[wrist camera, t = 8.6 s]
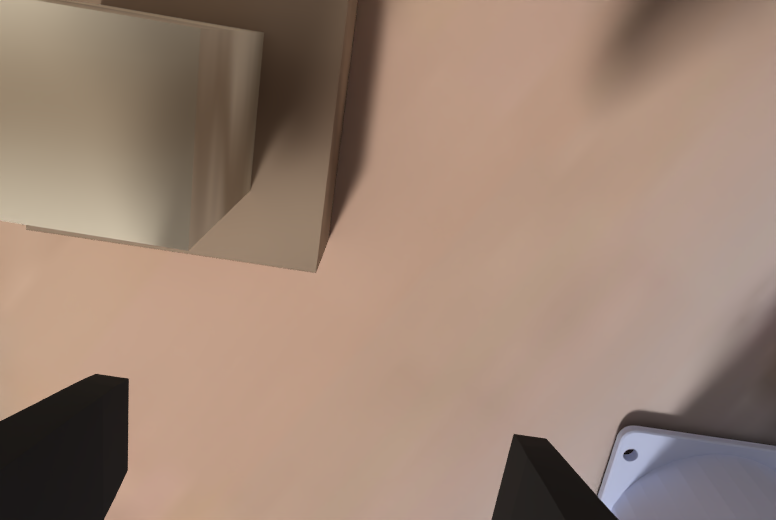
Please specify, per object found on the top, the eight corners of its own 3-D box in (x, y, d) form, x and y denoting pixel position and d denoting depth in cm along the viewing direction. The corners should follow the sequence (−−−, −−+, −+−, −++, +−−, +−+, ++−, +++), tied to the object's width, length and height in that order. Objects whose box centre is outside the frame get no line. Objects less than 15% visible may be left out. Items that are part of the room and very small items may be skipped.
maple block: (249, 190, 16) (188, 251, 12) (99, 166, 16) (-25, 216, 12) (264, 32, 15) (201, 28, 10) (100, 4, 15) (-40, -13, 10)
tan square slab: (328, 240, 20) (315, 272, 17) (80, 202, 20) (26, 229, 17) (361, -29, 17) (353, -43, 15) (75, -75, 17) (10, -99, 14)
